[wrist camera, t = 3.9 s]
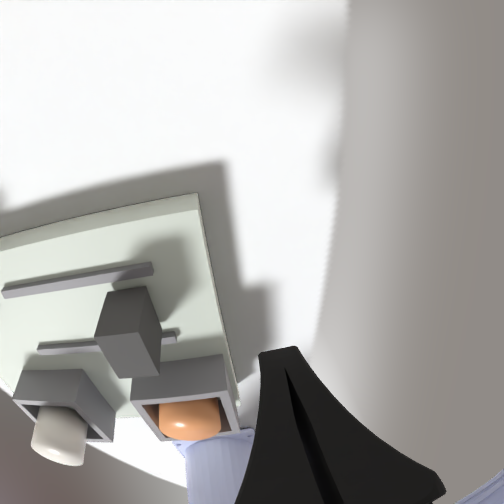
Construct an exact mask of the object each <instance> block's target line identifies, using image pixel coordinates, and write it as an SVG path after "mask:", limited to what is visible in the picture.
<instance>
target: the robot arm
mask: <svg viewBox="0 0 504 504" xmlns="http://www.w3.org/2000/svg"><path fill="white" fill-rule="evenodd" d="M258 358H259V366H260V373H261V387H260V401H259V411H258V418H257V424H256V431H255V432H254V429H251V428H249V429H243V430H240V432H241V433H236V434H229V435H222V436H215V437H210V438H207V439H203V440H197V441H185V440H174V441H172V443H173V444H174V446H175V447H176V448H177V449H178V451H179V452H180V453H181V454H182V456H183V457H184V458H185V466H186V479H187V491H188V501H189V504H433V503H432V502H433V501H434V500H436V499H438V498H439V497H441V496H443V495H444V494H445V493H446V489H445V487H444V485H443V483H442V481H441V479H440V478H439V477H438V475H437V474H436V473H435V472H434V471H433V470H431V469H429V468H427V467H425V466H423V465H421V464H419V463H417V462H415V461H413V460H412V459H410V458H408V457H407V456H405V455H404V454H402V453H400V452H399V451H397V450H396V449H394V448H393V447H391V446H390V445H389V444H387V443H386V442H384V441H383V440H381V439H380V438H379V437H377V436H376V435H375V434H373V433H372V432H371V431H370V430H369V429H367V428H366V427H365V426H364V425H363V424H362V423H360V422H359V421H358V420H357V419H356V418H355V417H354V416H353V415H352V414H351V413H349V412H348V411H347V410H346V408H345V407H344V406H343V405H342V404H341V403H340V402H339V401H338V400H337V399H336V398H335V397H334V396H333V395H332V394H331V392H330V391H329V390H328V389H327V388H326V386H325V385H324V384H323V383H322V382H321V381H320V379H319V378H318V377H317V375H316V374H315V373H314V371H313V370H312V369H311V367H310V366H309V364H308V363H307V362H306V360H305V359H304V357H303V355H302V354H301V352H300V351H299V349H298V347H296V346H290V347H286V348H281V349H276V350H271V351H265V352H261V353H260V354H259V355H258ZM454 504H504V469H503V470H501V471H500V472H499V473H497V474H496V476H495V477H493V478H492V479H491V480H489V481H488V482H486V483H485V484H484V485H482V486H481V487H479V488H478V489H476V490H475V491H473V492H472V493H470V494H469V495H467V496H465V497H464V498H462V499H461V500H459V501H458V502H456V503H454Z"/></svg>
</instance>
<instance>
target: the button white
mask: <svg viewBox="0 0 504 504" xmlns="http://www.w3.org/2000/svg"><path fill="white" fill-rule="evenodd" d="M87 429H88V423H87V422H86V421H85V420H84V419H83V418H82V417H81V416H80V414H79V413H78V412H76V411H74V410H73V409H70V408H68V407H66V406H40V408H39V412H38V416H37V420H36V424H35V428H34V433H33V437H32V442H31V447H32V448H33V449H34V450H35V451H36V452H37V453H39V454H40V455H42V456H44V457H46V458H48V459H50V460H52V461H55V462H58V463H61V464H66V465H71V466H79V465H82V464H83V461H84V452H85V444H86V437H87Z"/></svg>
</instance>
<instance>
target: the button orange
mask: <svg viewBox="0 0 504 504" xmlns="http://www.w3.org/2000/svg"><path fill="white" fill-rule="evenodd" d="M159 429H160V431H161V432H162V433H163V434H165V435H166V436H168V437H171V438H174V439H178V440H185V441H197V440H203V439H207V438H210V437H213V436H215V435H216V434H218V433H219V431H220V430H221V422H220V414H219V406H218V397H214V398H207V399H199V400H190V401H181V402H172V403H160V404H159Z"/></svg>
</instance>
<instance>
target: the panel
mask: <svg viewBox="0 0 504 504" xmlns="http://www.w3.org/2000/svg"><path fill="white" fill-rule="evenodd" d="M141 286H146V287H147V289H148V292H149V295H150V298H151V301H152V303H153V306H154V309H155V311H156V314H157V317H158V319H159V322H160V324H161V327H162V340H161V357H160V375H159V376H149V377H138V378H125V379H119V378H118V377H117V375H116V374H115V372H114V370H113V369H112V367H111V366H110V364H109V362H108V361H107V359H106V357H105V356H104V354H103V352H102V351H101V349H100V347H99V346H98V344H97V342H96V341H95V339H94V334H95V330H96V327H97V323H98V320H99V317H100V313H101V310H102V307H103V304H104V300H105V297H106V294H107V292H109V291H116V290H122V289H129V288H135V287H141ZM0 378H1V379H2V381H3V382H4V383H5V384H6V385H7V386H8V387H9V389H10V390H11V391H12V392H13V393H14V394H13V397H12V400H13V401H14V402H15V403H16V404H17V405H18V406H19V407H20V408H21V409H22V410H23V411H24V412H25V413H26V414H27V415H28V416H29V417H30V418H31V419H32V420H33V421H34V422H35V423H36V420H37V416H38V412H39V408H40V406H66V407H68V408H70V409H73V410H74V411H76V412H78V413H79V414H80V416H81V417H82V418H83V419H84V420H85V421H86V422H87V423H88V429H87V437H86V442H113V438H114V427H115V418H131V417H142V418H143V419H144V421H145V422H146V423H147V425H148V426H149V427H150V428H151V430H152V431H153V432H154V434H155V435H156V436H157V437H158V438H159V440H160V441H174V440H178V439H174V438H171V437H168V436H166V435H165V434H163V433H162V432H161V431H160V429H159V404H160V403H172V402H181V401H190V400H199V399H207V398H214V397H218V406H219V414H220V422H221V430H220V431H219V433H218V434H216V435H215V436H222V435H229V434H236V433H241V432H240V426H239V420H238V414H237V408H236V407H239V406H241V403H240V397H239V391H238V385H237V381H236V376H235V372H234V368H233V364H232V359H231V355H230V351H229V346H228V342H227V338H226V333H225V329H224V324H223V320H222V315H221V310H220V306H219V301H218V296H217V291H216V287H215V282H214V277H213V272H212V267H211V262H210V257H209V252H208V247H207V242H206V236H205V231H204V226H203V220H202V215H201V209H200V204H199V198H198V193H192V194H187V195H181V196H176V197H170V198H165V199H159V200H154V201H149V202H144V203H139V204H134V205H129V206H125V207H120V208H115V209H111V210H106V211H102V212H97V213H93V214H89V215H84V216H80V217H76V218H72V219H68V220H64V221H60V222H56V223H52V224H48V225H44V226H40V227H36V228H33V229H29V230H25V231H22V232H18V233H15V234H11V235H8V236H4V237H1V238H0ZM215 436H213V437H215Z"/></svg>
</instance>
